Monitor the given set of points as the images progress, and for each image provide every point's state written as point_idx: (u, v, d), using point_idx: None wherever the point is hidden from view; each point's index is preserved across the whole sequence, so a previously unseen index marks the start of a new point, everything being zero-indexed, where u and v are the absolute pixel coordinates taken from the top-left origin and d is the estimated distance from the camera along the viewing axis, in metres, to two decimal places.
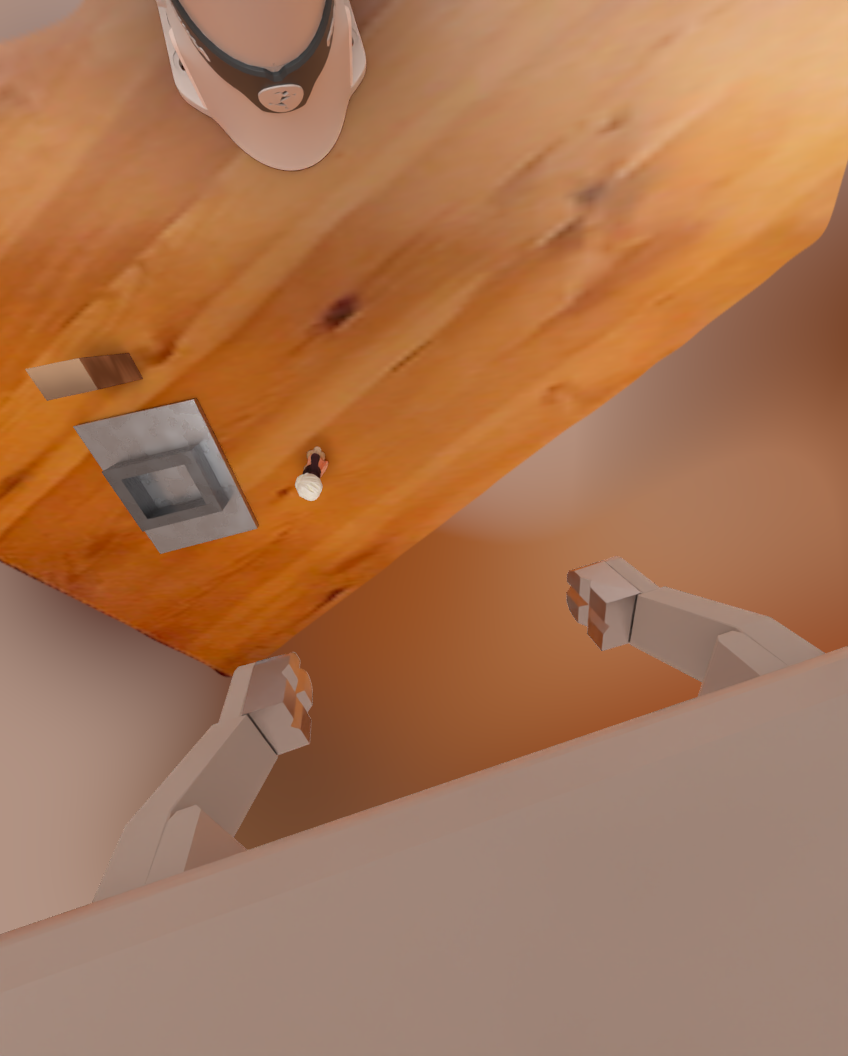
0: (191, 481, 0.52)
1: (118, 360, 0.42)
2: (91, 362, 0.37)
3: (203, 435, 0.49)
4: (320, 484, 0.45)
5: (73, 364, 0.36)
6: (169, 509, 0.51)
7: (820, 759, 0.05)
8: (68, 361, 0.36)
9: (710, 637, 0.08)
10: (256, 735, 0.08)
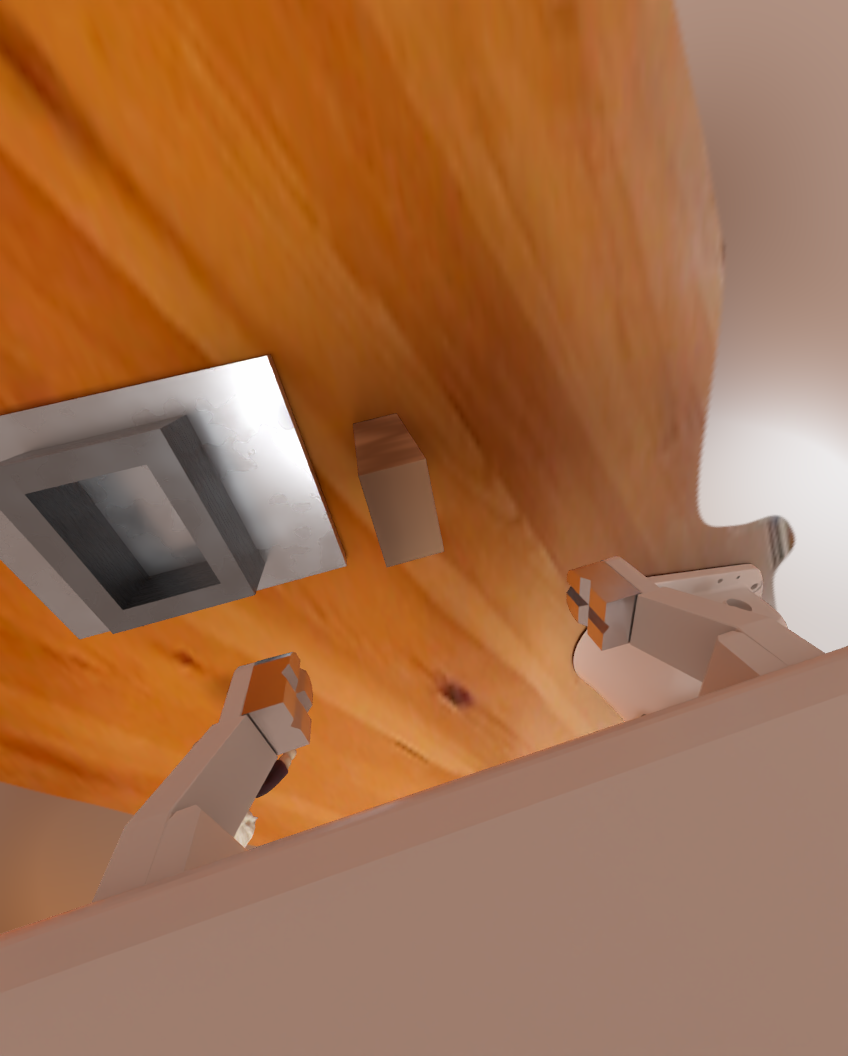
0: (172, 543, 0.24)
1: None
2: None
3: (282, 572, 0.27)
4: None
5: (433, 542, 0.18)
6: (78, 513, 0.21)
7: (820, 759, 0.05)
8: (438, 535, 0.18)
9: (710, 636, 0.08)
10: (256, 735, 0.08)
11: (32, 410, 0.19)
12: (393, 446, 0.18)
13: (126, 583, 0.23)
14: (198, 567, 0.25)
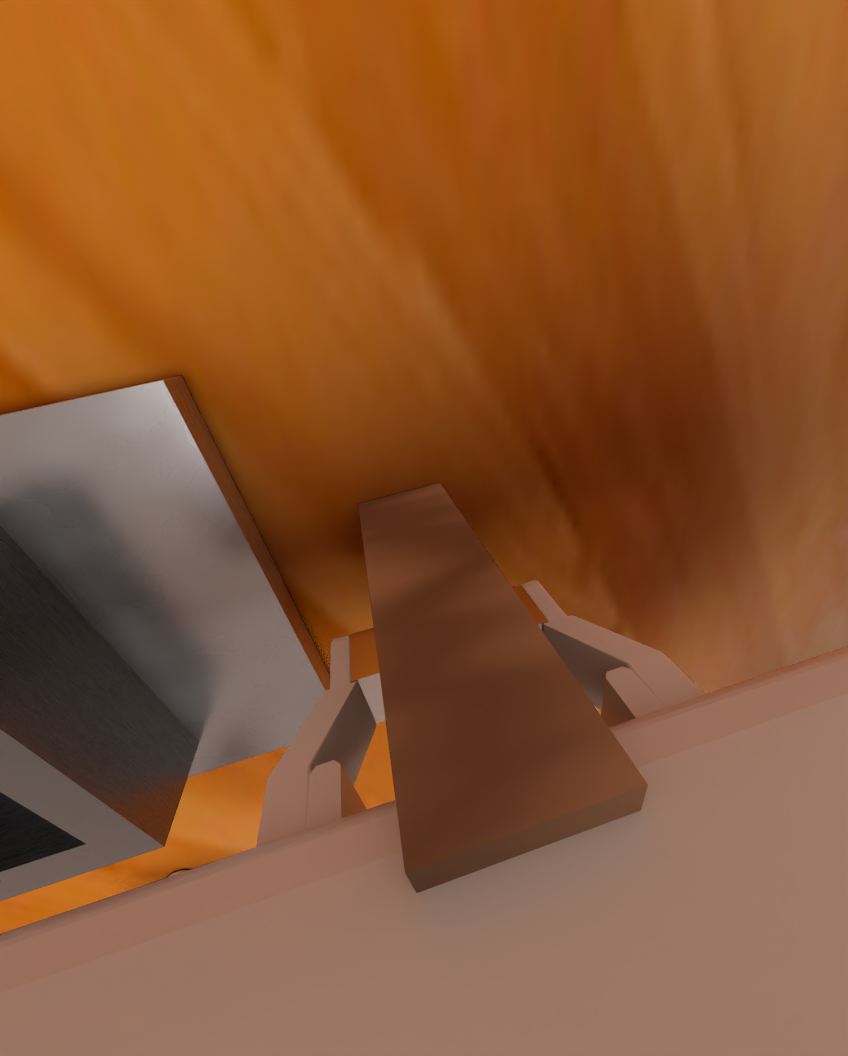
0: None
1: None
2: None
3: (231, 748, 0.15)
4: None
5: None
6: None
7: (820, 759, 0.05)
8: None
9: (607, 670, 0.08)
10: (362, 702, 0.09)
11: None
12: (480, 639, 0.07)
13: None
14: None
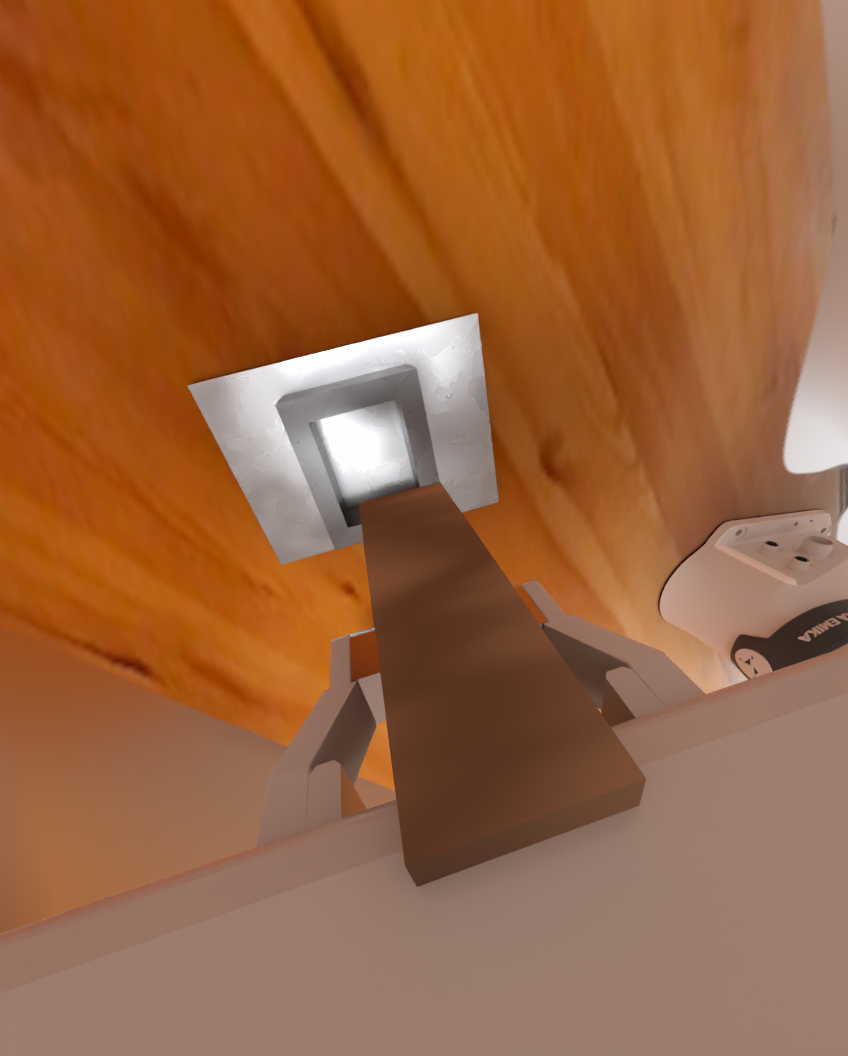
0: (371, 478, 0.29)
1: None
2: None
3: None
4: None
5: None
6: (321, 445, 0.25)
7: (820, 759, 0.05)
8: None
9: (607, 670, 0.08)
10: (362, 702, 0.09)
11: (298, 359, 0.24)
12: (479, 636, 0.07)
13: (343, 508, 0.28)
14: None
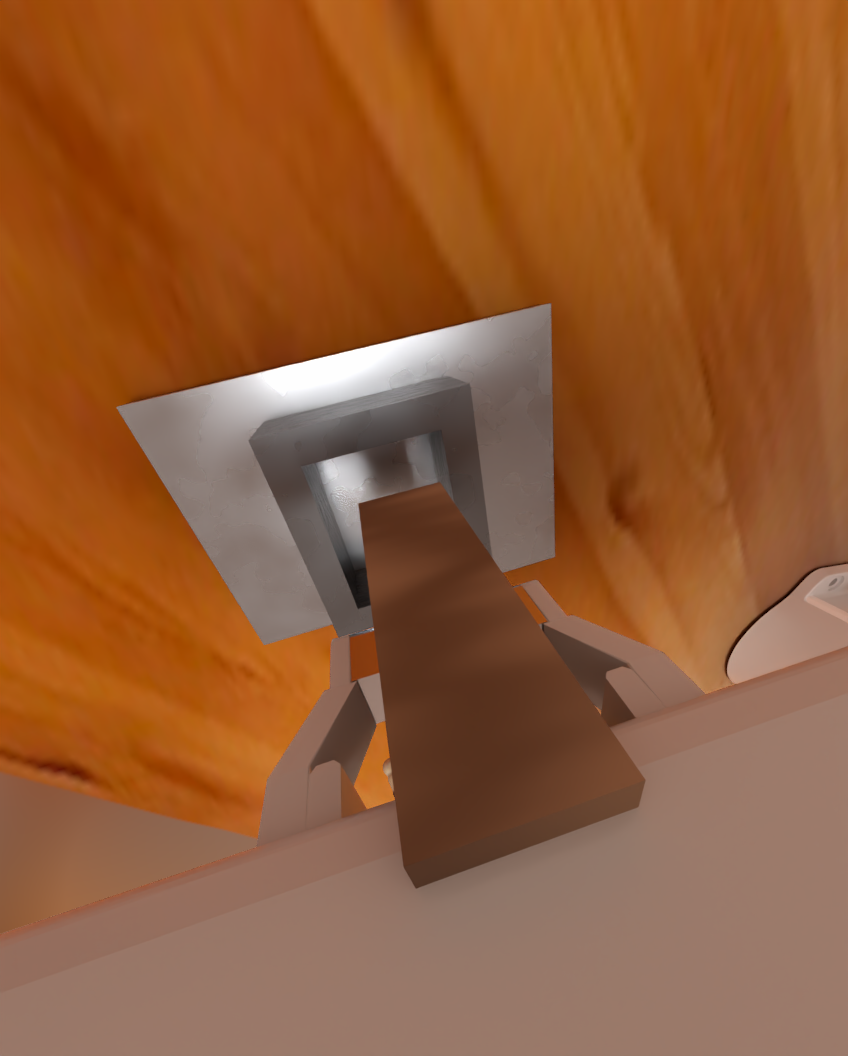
0: None
1: None
2: None
3: None
4: None
5: None
6: (320, 494, 0.17)
7: (820, 759, 0.05)
8: None
9: (607, 671, 0.08)
10: (362, 702, 0.09)
11: (287, 368, 0.16)
12: (478, 636, 0.07)
13: (351, 578, 0.20)
14: None
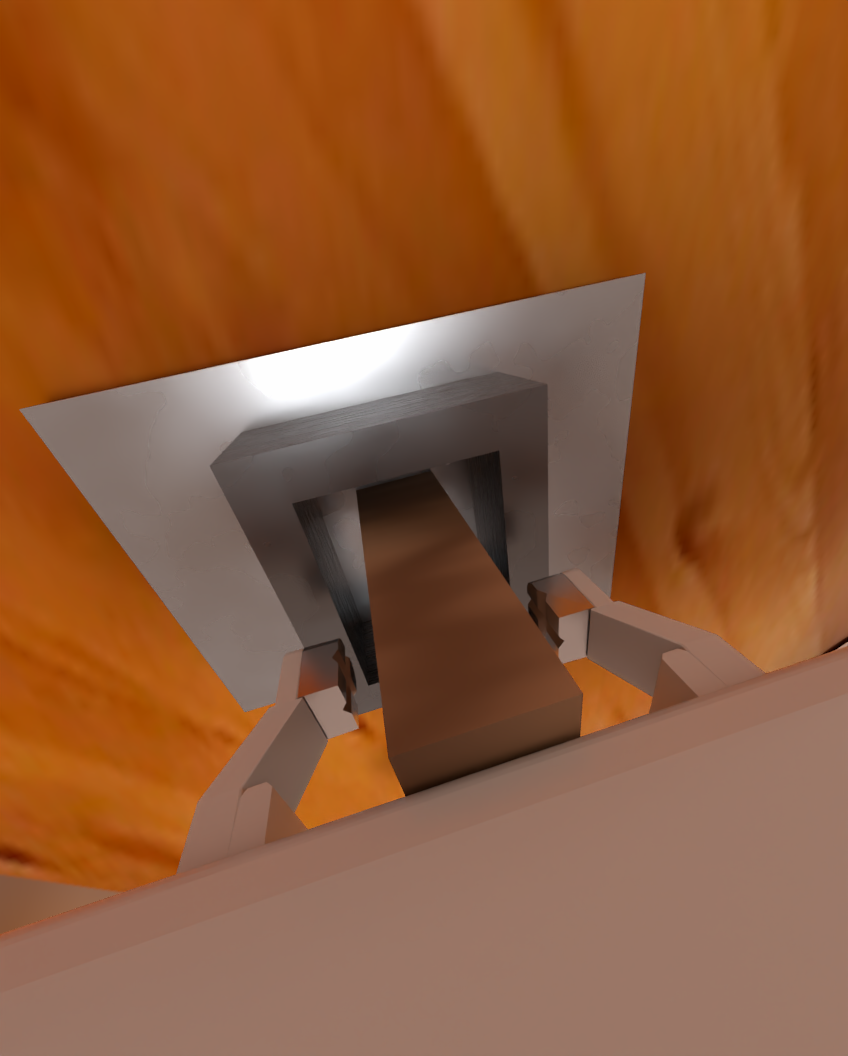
0: None
1: None
2: None
3: None
4: None
5: None
6: (320, 534, 0.13)
7: (820, 759, 0.05)
8: None
9: (659, 654, 0.08)
10: (310, 718, 0.08)
11: (274, 357, 0.11)
12: (458, 596, 0.08)
13: (359, 640, 0.15)
14: None
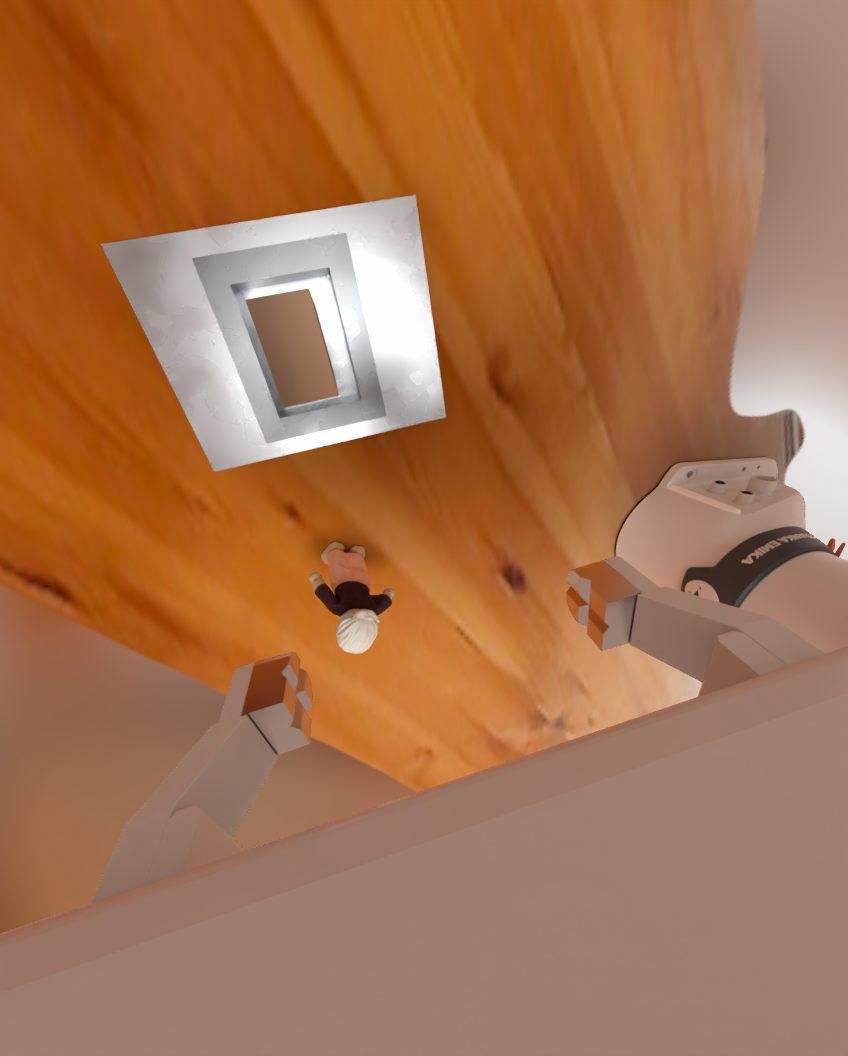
0: None
1: None
2: None
3: (393, 418, 0.31)
4: None
5: (327, 383, 0.19)
6: (250, 325, 0.24)
7: (820, 759, 0.05)
8: (331, 376, 0.19)
9: (710, 636, 0.08)
10: (256, 735, 0.08)
11: (224, 226, 0.23)
12: None
13: (277, 401, 0.26)
14: (329, 400, 0.28)
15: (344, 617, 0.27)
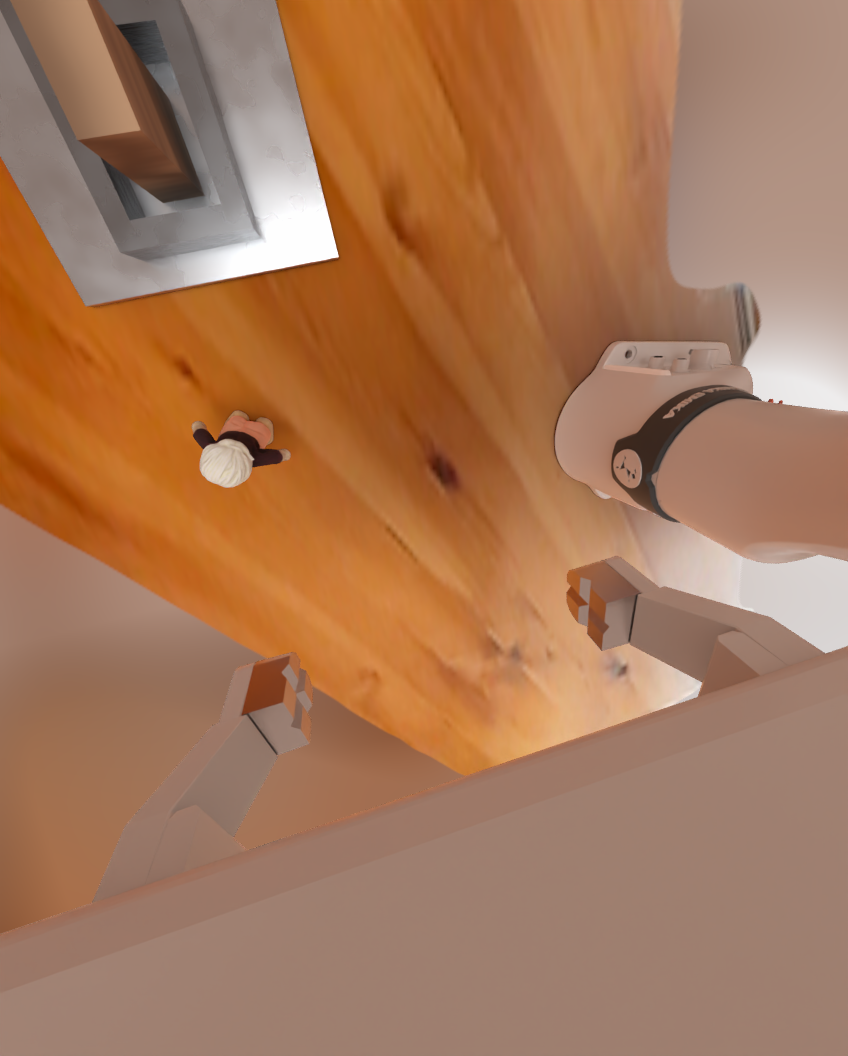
0: None
1: (178, 181, 0.23)
2: (145, 146, 0.19)
3: (278, 253, 0.29)
4: (236, 484, 0.26)
5: (123, 111, 0.17)
6: None
7: (820, 759, 0.05)
8: (126, 100, 0.17)
9: (710, 637, 0.08)
10: (256, 735, 0.08)
11: None
12: None
13: (132, 208, 0.25)
14: None
15: None
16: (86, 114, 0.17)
